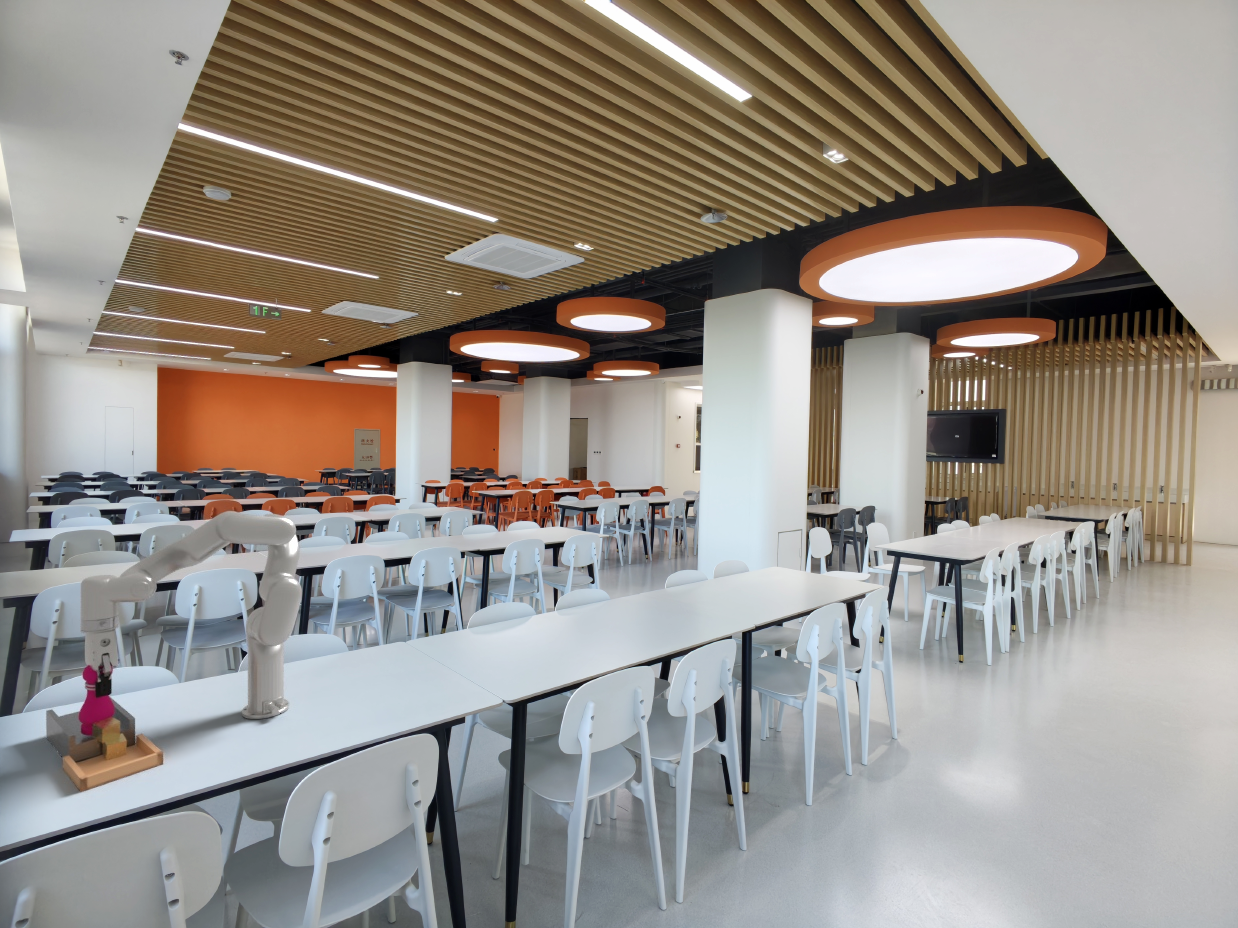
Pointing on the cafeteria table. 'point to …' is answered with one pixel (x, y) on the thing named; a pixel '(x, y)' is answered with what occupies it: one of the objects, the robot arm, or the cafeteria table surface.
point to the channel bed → (75, 744)
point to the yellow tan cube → (106, 729)
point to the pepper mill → (94, 703)
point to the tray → (113, 765)
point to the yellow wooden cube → (115, 747)
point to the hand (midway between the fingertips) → (99, 691)
